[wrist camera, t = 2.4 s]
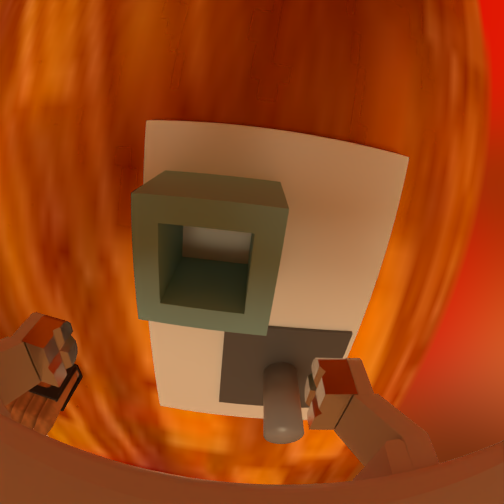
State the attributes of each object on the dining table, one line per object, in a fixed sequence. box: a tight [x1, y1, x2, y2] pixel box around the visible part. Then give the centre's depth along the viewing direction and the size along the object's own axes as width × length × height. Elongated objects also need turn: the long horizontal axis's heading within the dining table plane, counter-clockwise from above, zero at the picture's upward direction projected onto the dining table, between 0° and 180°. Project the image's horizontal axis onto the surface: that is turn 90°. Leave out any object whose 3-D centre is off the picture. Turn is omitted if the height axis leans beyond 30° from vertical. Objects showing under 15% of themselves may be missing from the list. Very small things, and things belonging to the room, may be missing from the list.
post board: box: [143, 120, 409, 444], centre depth 18 cm, size 24×15×8 cm, turn 173°
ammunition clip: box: [6, 364, 82, 435], centre depth 21 cm, size 11×2×12 cm, turn 89°
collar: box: [131, 170, 289, 336], centre depth 15 cm, size 6×6×5 cm
